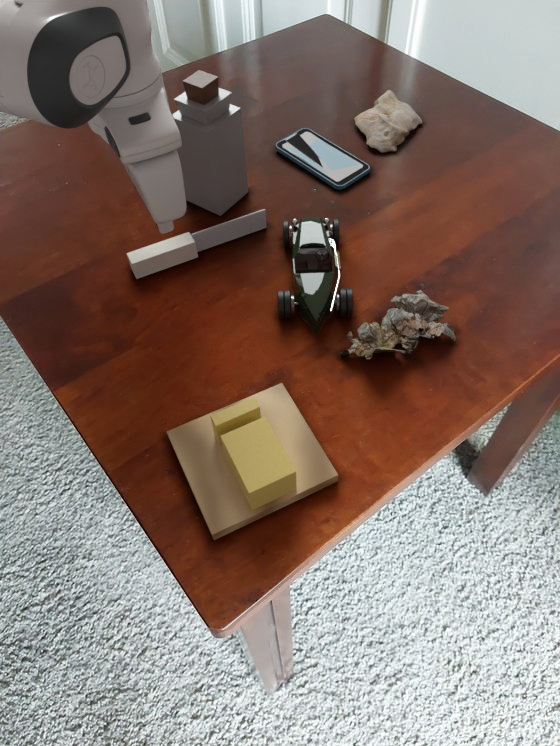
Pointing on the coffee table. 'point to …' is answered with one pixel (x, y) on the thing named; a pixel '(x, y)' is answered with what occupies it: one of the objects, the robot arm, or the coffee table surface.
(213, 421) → the butter slice
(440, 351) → the coffee table surface
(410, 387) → the coffee table surface
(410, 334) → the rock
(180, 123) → the perfume bottle
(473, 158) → the coffee table surface
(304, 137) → the smartphone
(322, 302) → the toy car
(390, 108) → the stone
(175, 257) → the knife
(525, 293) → the coffee table surface
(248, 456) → the butter
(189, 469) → the butter board
